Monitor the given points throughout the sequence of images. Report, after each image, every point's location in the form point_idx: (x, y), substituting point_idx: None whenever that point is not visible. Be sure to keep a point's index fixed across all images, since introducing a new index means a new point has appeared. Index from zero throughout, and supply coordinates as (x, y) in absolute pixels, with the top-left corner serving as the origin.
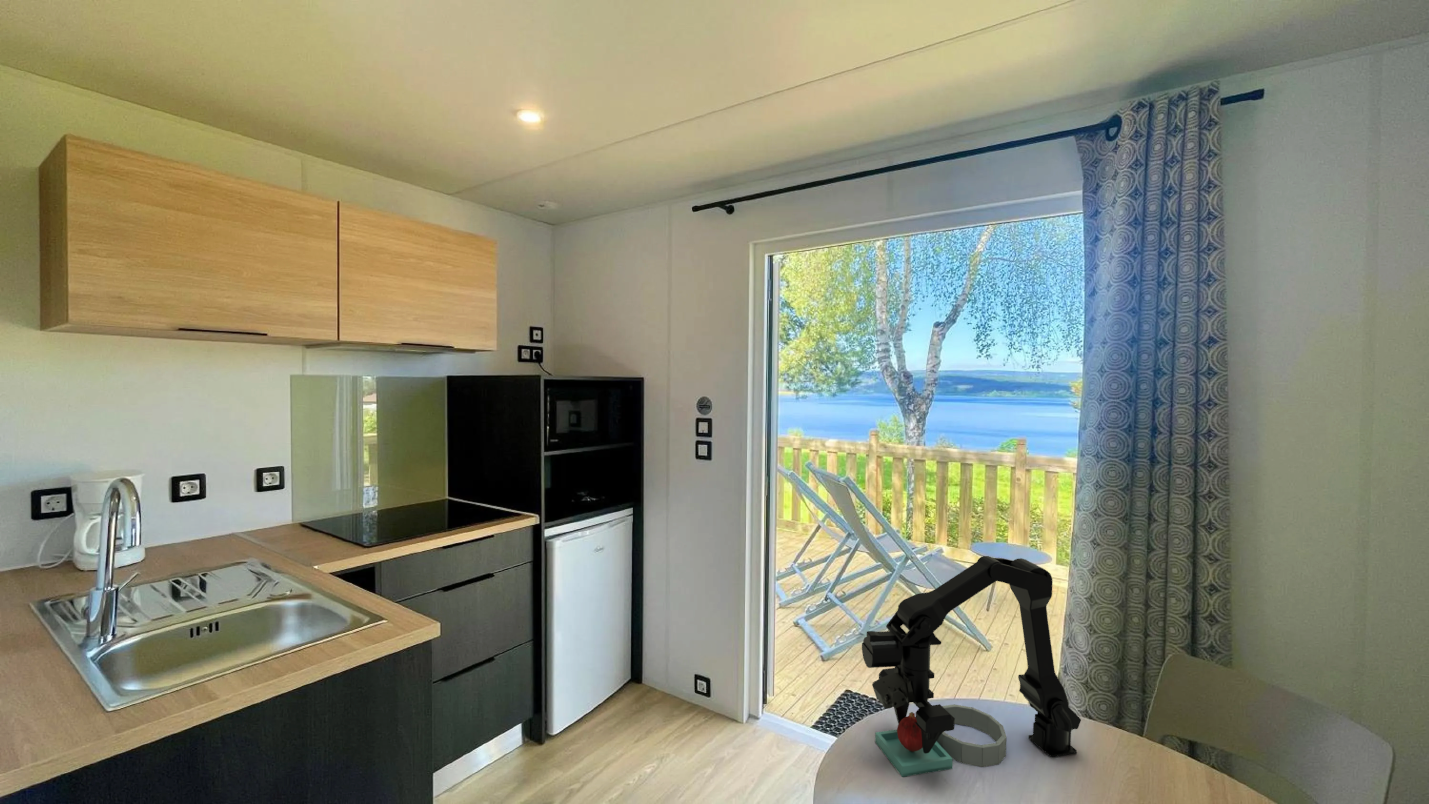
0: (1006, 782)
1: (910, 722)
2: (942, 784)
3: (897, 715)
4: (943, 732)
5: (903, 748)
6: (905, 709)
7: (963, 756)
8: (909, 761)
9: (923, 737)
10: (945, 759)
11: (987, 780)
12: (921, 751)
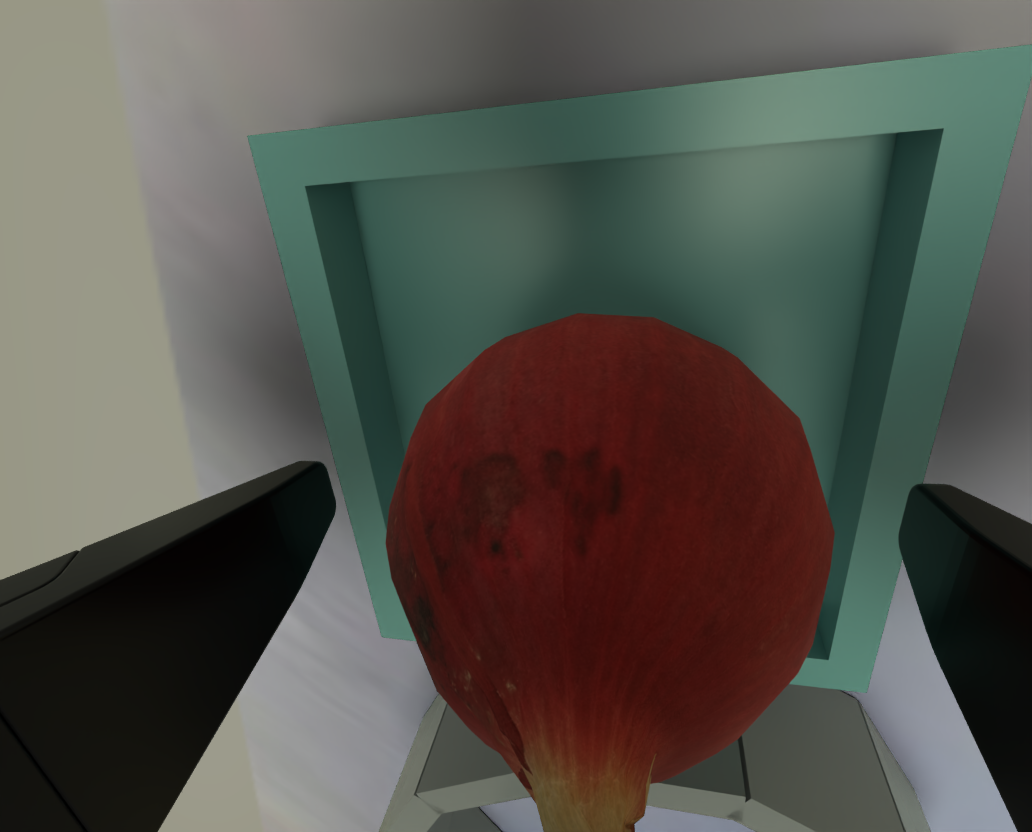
0: (311, 732)
1: (472, 629)
2: (263, 430)
3: (1016, 559)
4: None
5: None
6: (1030, 783)
7: (444, 703)
8: (476, 310)
9: (44, 575)
10: (370, 588)
11: (319, 674)
12: None
